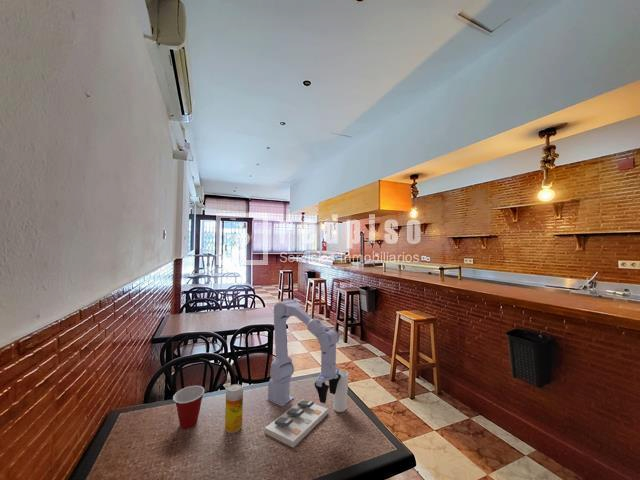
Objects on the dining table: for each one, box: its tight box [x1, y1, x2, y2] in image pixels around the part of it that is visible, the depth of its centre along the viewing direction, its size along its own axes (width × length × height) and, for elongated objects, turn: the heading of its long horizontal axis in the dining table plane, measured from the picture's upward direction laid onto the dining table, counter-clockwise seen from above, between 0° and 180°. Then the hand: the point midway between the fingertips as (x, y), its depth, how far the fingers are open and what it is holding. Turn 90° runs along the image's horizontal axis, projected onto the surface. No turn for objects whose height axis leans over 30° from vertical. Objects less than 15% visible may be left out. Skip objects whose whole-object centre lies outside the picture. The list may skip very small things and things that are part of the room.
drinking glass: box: [332, 369, 349, 413], centre depth 115 cm, size 7×7×15 cm
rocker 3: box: [297, 399, 315, 408], centre depth 112 cm, size 6×3×1 cm, turn 58°
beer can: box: [224, 383, 244, 434], centre depth 101 cm, size 6×6×15 cm
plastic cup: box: [172, 385, 205, 430], centre depth 103 cm, size 11×11×12 cm
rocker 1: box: [275, 416, 293, 427], centre depth 100 cm, size 6×3×1 cm, turn 58°
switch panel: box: [264, 399, 329, 448], centre depth 105 cm, size 13×23×2 cm, turn 148°
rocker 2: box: [286, 407, 304, 416], centre depth 106 cm, size 6×3×1 cm, turn 58°
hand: (327, 397), depth 105 cm, fingers open, 7 cm apart
